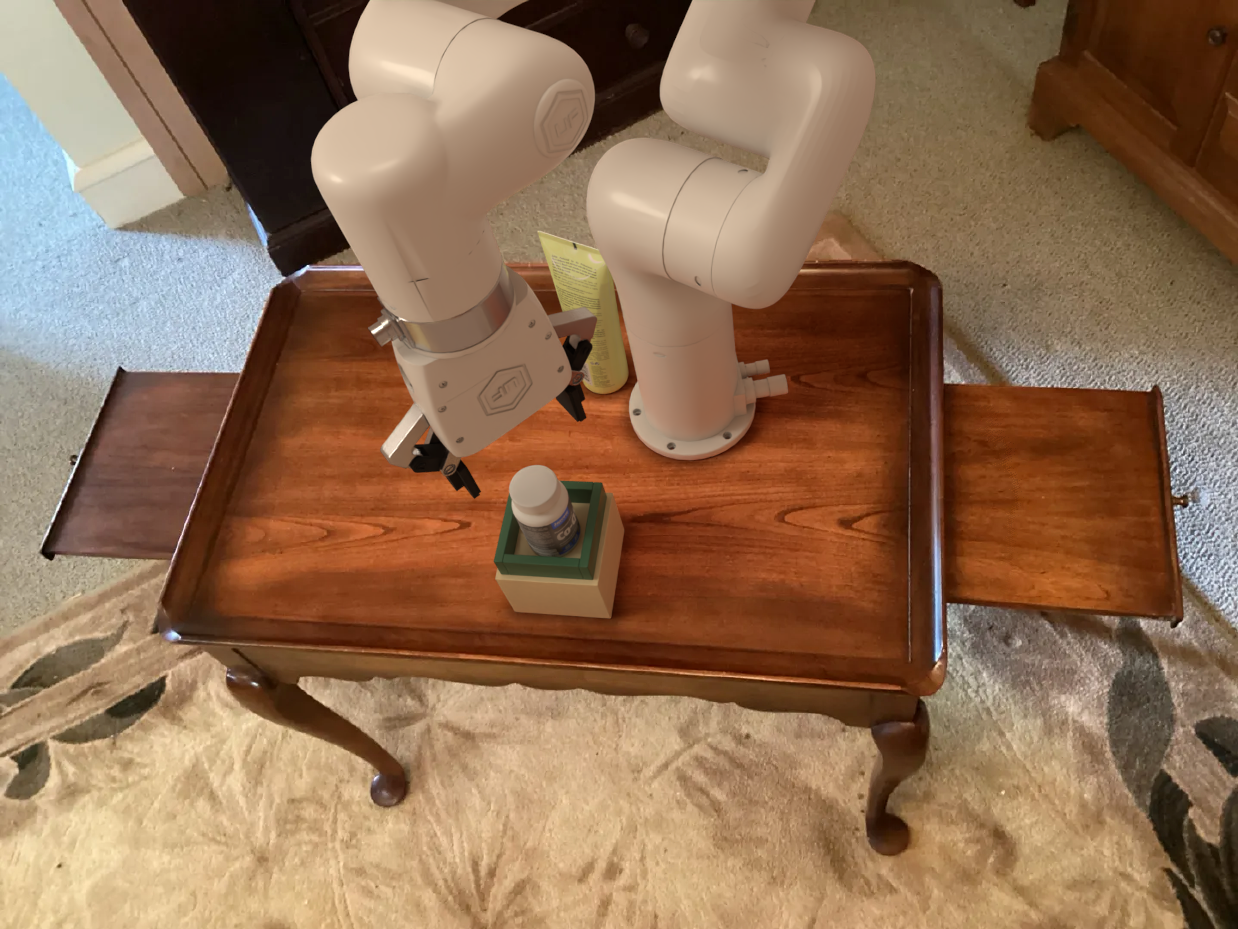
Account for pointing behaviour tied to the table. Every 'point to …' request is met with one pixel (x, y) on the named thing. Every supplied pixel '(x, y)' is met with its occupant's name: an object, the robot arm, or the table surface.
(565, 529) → the pill bottle
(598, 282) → the tube
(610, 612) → the green rimmed box
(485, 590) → the table surface
